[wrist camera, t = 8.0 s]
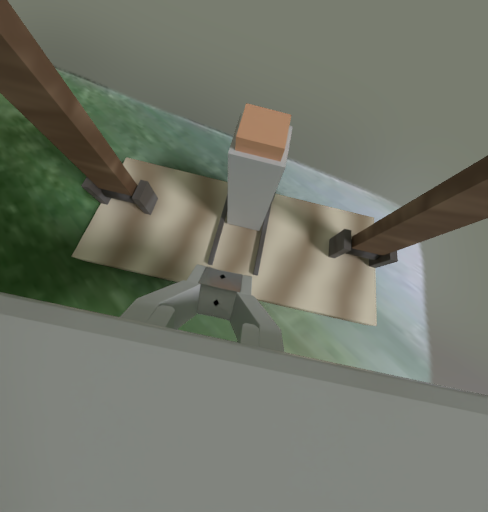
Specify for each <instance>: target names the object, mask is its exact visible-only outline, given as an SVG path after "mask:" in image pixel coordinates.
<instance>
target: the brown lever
mask: <svg viewBox="0 0 488 512" xmlns="http://www.w3.org/2000/svg"><path fill="white" fill-rule="evenodd" d="M0 93H1V94H2V95H3V96H4V97H5V98H6V99H7V100H8V101H9V102H10V103H11V104H12V105H14V106H15V107H16V108H17V109H18V110H19V111H20V112H21V113H22V114H23V115H24V116H25V117H26V118H27V119H28V120H29V121H30V122H31V123H32V124H33V125H34V126H35V127H36V128H37V129H38V130H39V131H40V132H41V133H42V134H43V135H45V136H46V137H47V138H48V139H49V140H50V141H51V142H52V143H53V144H54V145H55V146H56V147H57V148H58V149H59V150H60V151H61V152H62V153H63V154H64V155H65V156H66V157H67V158H68V159H69V160H70V161H71V162H72V163H73V164H74V165H76V166H77V167H78V168H79V169H80V170H81V171H82V172H83V173H84V174H85V175H86V176H87V177H88V178H89V179H90V180H91V181H92V182H93V183H94V184H95V185H96V186H97V187H98V188H100V189H101V190H102V193H103V195H104V196H105V197H109V198H113V199H117V200H121V201H126V202H130V203H134V204H136V203H135V202H134V201H133V199H132V196H133V194H134V192H135V190H136V188H137V186H138V185H137V184H136V182H135V181H134V180H133V178H132V177H131V175H130V174H129V173H128V171H127V170H126V168H125V167H124V165H123V164H122V163H121V161H120V160H119V158H118V157H117V156H116V154H115V153H114V151H113V150H112V148H111V147H110V146H109V144H108V143H107V141H106V140H105V138H104V137H103V136H102V134H101V133H100V131H99V130H98V129H97V127H96V126H95V124H94V123H93V121H92V120H91V119H90V117H89V116H88V114H87V113H86V112H85V110H84V109H83V107H82V106H81V104H80V103H79V102H78V100H77V99H76V97H75V96H74V94H73V93H72V92H71V90H70V89H69V87H68V86H67V85H66V83H65V82H64V80H63V79H62V77H61V76H60V75H59V73H58V72H57V70H56V69H55V68H54V66H53V65H52V63H51V62H50V61H49V59H48V58H47V56H46V55H45V54H44V52H43V50H42V49H41V48H40V46H39V45H38V43H37V42H36V41H35V39H34V38H33V36H32V35H31V34H30V32H29V31H28V29H27V28H26V26H25V25H24V24H23V22H22V21H21V19H20V18H19V16H18V15H17V14H16V12H15V11H14V9H13V8H12V6H11V5H10V4H9V2H8V1H7V0H0Z"/></svg>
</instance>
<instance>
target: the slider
mask: <svg viewBox="0 0 488 512" xmlns="http://www.w3.org/2000/svg"><path fill="white" fill-rule="evenodd" d="M290 119H291V115H290V114H286V113H282V112H278V111H274V110H270V109H267V108H263V107H259V106H255V105H251V104H246V106H245V109H244V113H243V114H241V115H240V117H239V121H238V124H237V127H236V130H235V133H234V136H233V140H232V143H231V146H230V149H229V152H228V212H227V224H232V225H236V226H240V227H244V228H248V229H253V230H257V231H260V228H261V226H262V223H263V221H264V219H265V216H266V214H267V211H268V209H269V206H270V204H271V201H272V199H273V196H274V194H275V192H276V189H277V187H278V184H279V182H280V179H281V177H282V174H283V172H284V170H285V167H286V161H287V155H288V149H289V143H290V138H291V132H292V126H289V125H290Z"/></svg>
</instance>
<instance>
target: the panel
mask: <svg viewBox="0 0 488 512" xmlns="http://www.w3.org/2000/svg"><path fill="white" fill-rule="evenodd" d="M123 165H124V167H125V168H126V170H127V171H128V173H129V174H130V175H131V177H132V178H133V180H134V181H135V182H136V184H137V185H138V186H137V188H136V190H135V192H134V194H133V196H132V199H133V201H134V202H135V203H136V204H134V203H130V202H126V201H121V200H117V199H113V198H109V197H105V196H104V195H103V193H102V190H101V189H100V188H98V187H97V186H96V185H95V184H94V183H93V182H92V181H91V180H90V179H89V178H88V177H86V179H85V181H84V182H83V184H82V185H81V186H82V187H83V188H84V189H85V190H86V191H87V192H89V193H90V194H91V195H92V196H93V197H94V198H95V199H97V200H98V201H99V202H100V203H101V204H100V206H99V208H98V209H97V211H96V213H95V215H94V217H93V218H92V220H91V222H90V224H89V226H88V227H87V229H86V231H85V233H84V235H83V236H82V238H81V240H80V242H79V244H78V245H77V247H76V249H75V251H74V253H73V254H72V256H71V257H74V258H77V259H80V260H83V261H87V262H91V263H96V264H100V265H105V266H109V267H113V268H118V269H122V270H127V271H131V272H135V273H140V274H144V275H148V276H153V277H157V278H162V279H166V280H170V281H175V282H180V281H183V280H185V281H186V280H187V279H188V277H189V276H190V274H191V272H192V271H193V269H194V268H195V266H196V265H197V264H199V265H203V266H206V267H211V268H215V269H220V270H224V271H227V272H232V273H237V274H242V275H247V276H252V290H251V295H252V296H254V297H255V298H256V299H257V300H258V301H263V302H267V303H272V304H276V305H280V306H285V307H289V308H294V309H298V310H302V311H307V312H311V313H316V314H320V315H324V316H329V317H333V318H338V319H342V320H346V321H351V322H355V323H360V324H364V325H372V326H377V320H376V281H375V268H377V267H380V266H384V265H387V264H390V263H394V262H397V261H398V260H397V251H394V252H391V253H388V254H386V255H380V257H379V258H378V259H376V260H371V259H367V258H362V257H358V256H354V255H350V254H346V253H347V252H349V251H351V239H352V236H354V235H356V234H357V233H359V232H361V231H362V230H364V229H366V228H367V227H369V226H371V225H372V224H374V218H373V217H369V216H364V215H360V214H356V213H352V212H348V211H344V210H340V209H336V208H332V207H327V206H323V205H319V204H315V203H311V202H307V201H303V200H299V199H295V198H291V197H286V196H282V195H278V194H274V196H273V199H272V201H271V204H270V206H269V209H268V211H267V214H266V216H265V219H264V221H263V223H262V226H261V228H260V231H257V230H253V229H248V228H244V227H240V226H236V225H232V224H227V212H228V182H225V181H221V180H217V179H213V178H208V177H204V176H200V175H196V174H192V173H188V172H184V171H180V170H176V169H172V168H167V167H163V166H159V165H155V164H151V163H147V162H143V161H139V160H135V159H130V158H126V159H125V161H124V163H123ZM275 193H276V192H275Z"/></svg>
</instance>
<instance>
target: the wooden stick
mask: <svg viewBox="0 0 488 512" xmlns="http://www.w3.org/2000/svg"><path fill="white" fill-rule="evenodd" d="M486 218H488V156H486V157H484V158H483V159H481V160H480V161H478V162H476V163H474V164H473V165H471V166H469V167H468V168H466V169H464V170H463V171H461V172H459V173H458V174H456V175H454V176H453V177H451V178H449V179H448V180H446V181H444V182H443V183H441V184H439V185H438V186H436V187H434V188H433V189H431V190H429V191H428V192H426V193H424V194H422V195H421V196H419V197H417V198H416V199H414V200H412V201H411V202H409V203H407V204H406V205H404V206H402V207H401V208H399V209H397V210H396V211H394V212H392V213H391V214H389V215H387V216H386V217H384V218H382V219H381V220H379V221H377V222H376V223H374V224H372V225H371V226H369V227H367V228H366V229H364V230H362V231H361V232H359V233H357V234H356V235H354V236H352V239H351V251H349V252H347V253H346V254H350V255H354V256H358V257H362V258H367V259H371V260H376V259H378V258H379V257H380V255H386V254H388V253H391V252H394V251H397V250H400V249H402V248H405V247H408V246H411V245H414V244H416V243H419V242H422V241H424V240H427V239H430V238H433V237H436V236H439V235H441V234H444V233H447V232H449V231H453V230H455V229H458V228H461V227H464V226H467V225H469V224H472V223H475V222H478V221H480V220H483V219H486Z"/></svg>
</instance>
